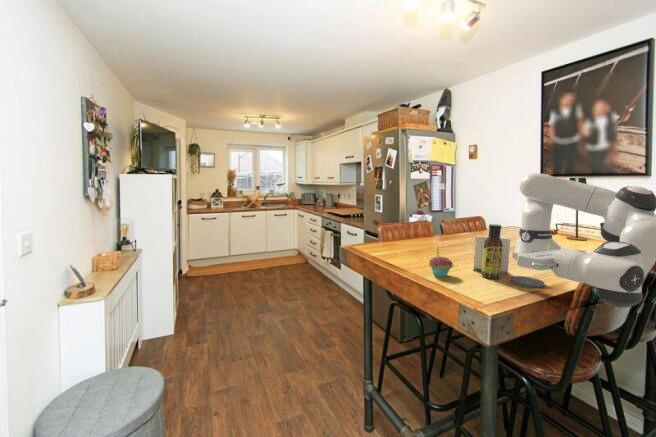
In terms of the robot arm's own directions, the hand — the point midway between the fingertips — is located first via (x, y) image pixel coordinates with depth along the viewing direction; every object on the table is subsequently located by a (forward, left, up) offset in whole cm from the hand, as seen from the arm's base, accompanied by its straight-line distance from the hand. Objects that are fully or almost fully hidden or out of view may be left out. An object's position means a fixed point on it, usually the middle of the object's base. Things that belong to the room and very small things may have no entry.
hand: (523, 253), depth 108 cm
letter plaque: (-6, -18, -12) cm, 22 cm away
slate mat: (-6, -2, -12) cm, 13 cm away
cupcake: (+16, -21, -12) cm, 29 cm away
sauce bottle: (0, -12, -12) cm, 17 cm away
